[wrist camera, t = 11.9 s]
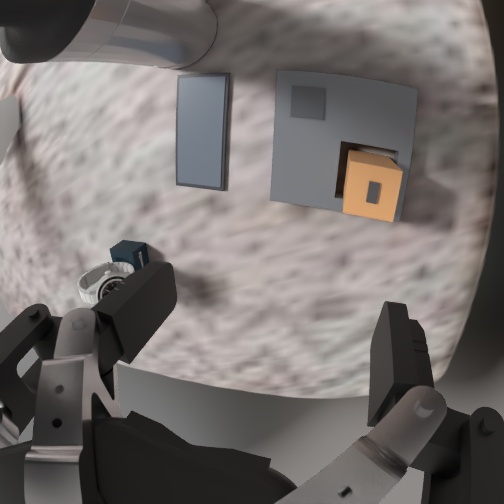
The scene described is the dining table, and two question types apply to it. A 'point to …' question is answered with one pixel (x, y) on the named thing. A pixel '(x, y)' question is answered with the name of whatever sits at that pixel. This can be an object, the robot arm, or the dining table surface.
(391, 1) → the dining table surface
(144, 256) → the watch
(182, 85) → the phone
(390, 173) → the block
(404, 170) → the outlet plate
